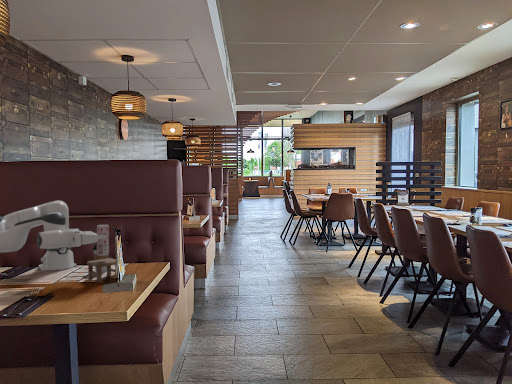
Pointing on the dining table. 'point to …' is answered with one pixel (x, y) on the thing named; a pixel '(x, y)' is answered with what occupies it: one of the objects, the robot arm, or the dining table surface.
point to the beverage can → (103, 240)
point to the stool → (99, 264)
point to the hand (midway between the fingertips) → (104, 235)
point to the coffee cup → (97, 257)
